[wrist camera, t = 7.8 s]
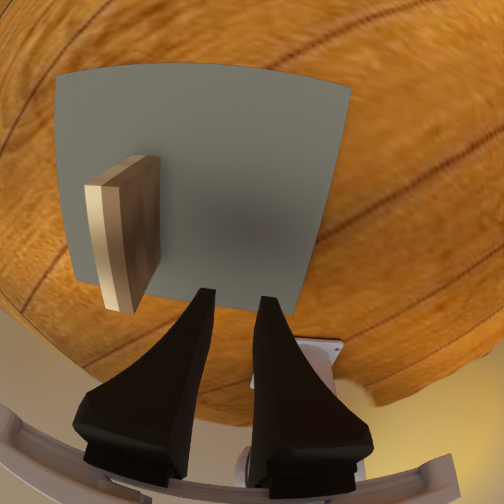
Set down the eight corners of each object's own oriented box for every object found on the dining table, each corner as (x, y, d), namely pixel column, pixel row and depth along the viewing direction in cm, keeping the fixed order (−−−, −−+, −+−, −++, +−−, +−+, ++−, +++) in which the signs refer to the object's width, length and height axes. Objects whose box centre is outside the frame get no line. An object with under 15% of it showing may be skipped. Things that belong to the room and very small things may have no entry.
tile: (160, 260, 21) (134, 314, 16) (137, 256, 21) (105, 308, 16) (160, 156, 17) (118, 187, 11) (132, 154, 16) (84, 185, 11)
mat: (292, 311, 24) (292, 315, 23) (78, 277, 23) (76, 280, 22) (350, 88, 14) (352, 88, 14) (59, 75, 13) (56, 75, 13)
